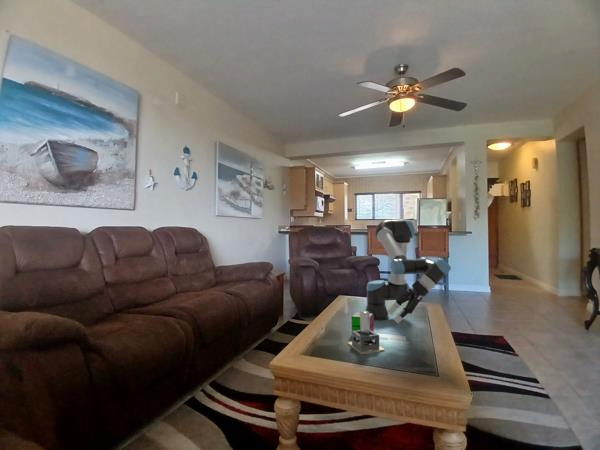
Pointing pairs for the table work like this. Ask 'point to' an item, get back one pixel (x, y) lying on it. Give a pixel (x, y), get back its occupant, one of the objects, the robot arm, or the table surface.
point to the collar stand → (365, 348)
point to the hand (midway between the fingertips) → (392, 316)
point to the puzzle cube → (357, 322)
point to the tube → (365, 324)
